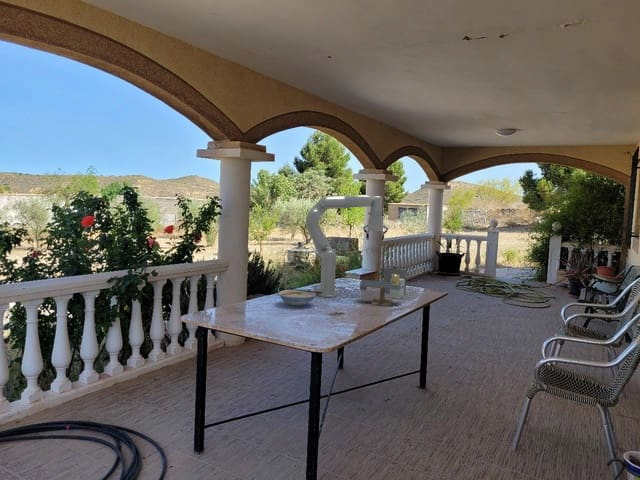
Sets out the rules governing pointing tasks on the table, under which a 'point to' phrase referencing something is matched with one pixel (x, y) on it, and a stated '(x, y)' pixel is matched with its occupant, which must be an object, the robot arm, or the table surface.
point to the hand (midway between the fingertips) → (375, 239)
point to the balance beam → (378, 285)
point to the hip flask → (394, 270)
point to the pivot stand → (382, 299)
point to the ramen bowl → (297, 296)
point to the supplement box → (398, 293)
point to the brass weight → (395, 279)
